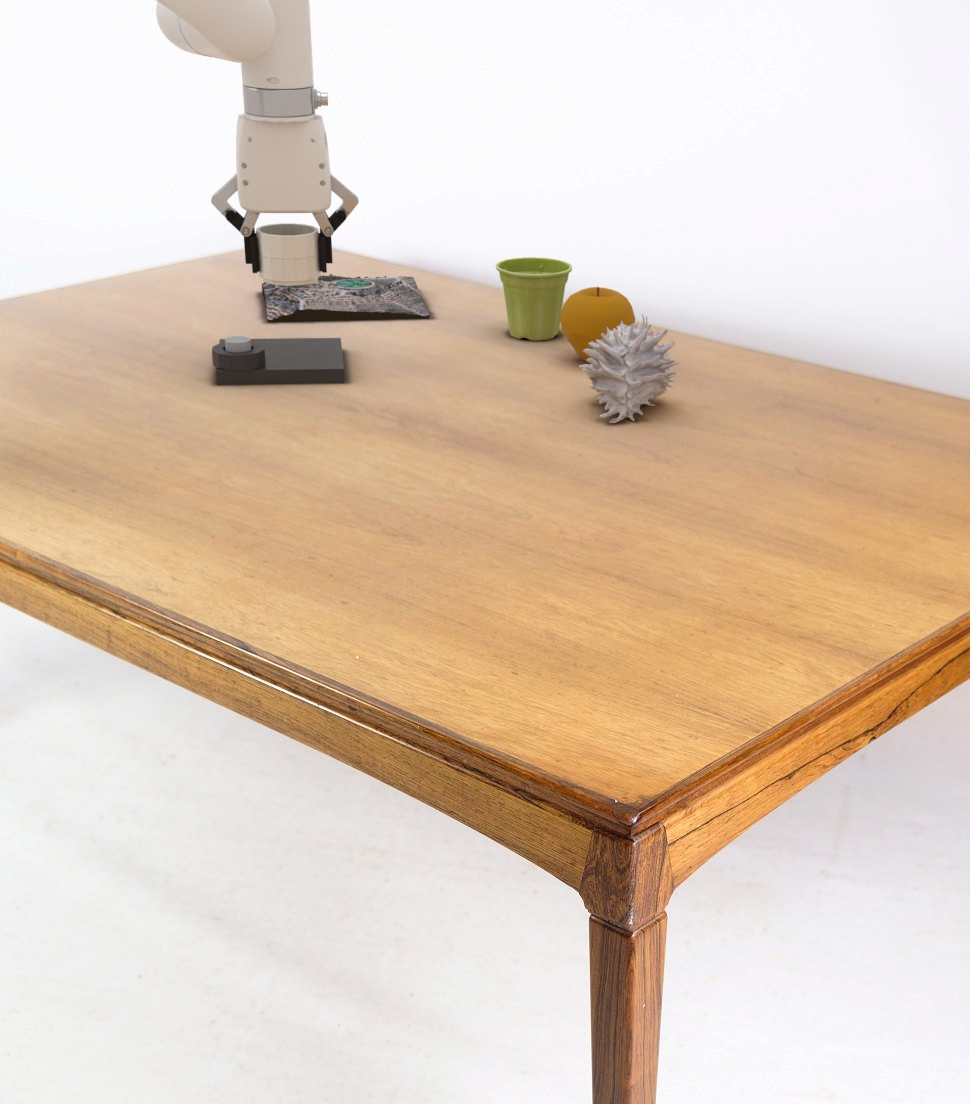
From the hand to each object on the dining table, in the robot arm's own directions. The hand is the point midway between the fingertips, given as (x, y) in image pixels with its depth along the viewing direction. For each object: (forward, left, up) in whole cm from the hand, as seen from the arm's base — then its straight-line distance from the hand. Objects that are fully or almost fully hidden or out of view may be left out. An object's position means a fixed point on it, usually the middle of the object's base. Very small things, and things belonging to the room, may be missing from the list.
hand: (289, 268), depth 184 cm
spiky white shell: (+35, -20, -11) cm, 42 cm away
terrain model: (+6, +26, -11) cm, 29 cm away
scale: (-2, -2, -11) cm, 11 cm away
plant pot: (+29, +11, -11) cm, 33 cm away
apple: (+35, -1, -11) cm, 37 cm away
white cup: (0, 0, -1) cm, 1 cm away
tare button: (-6, -5, -8) cm, 11 cm away
